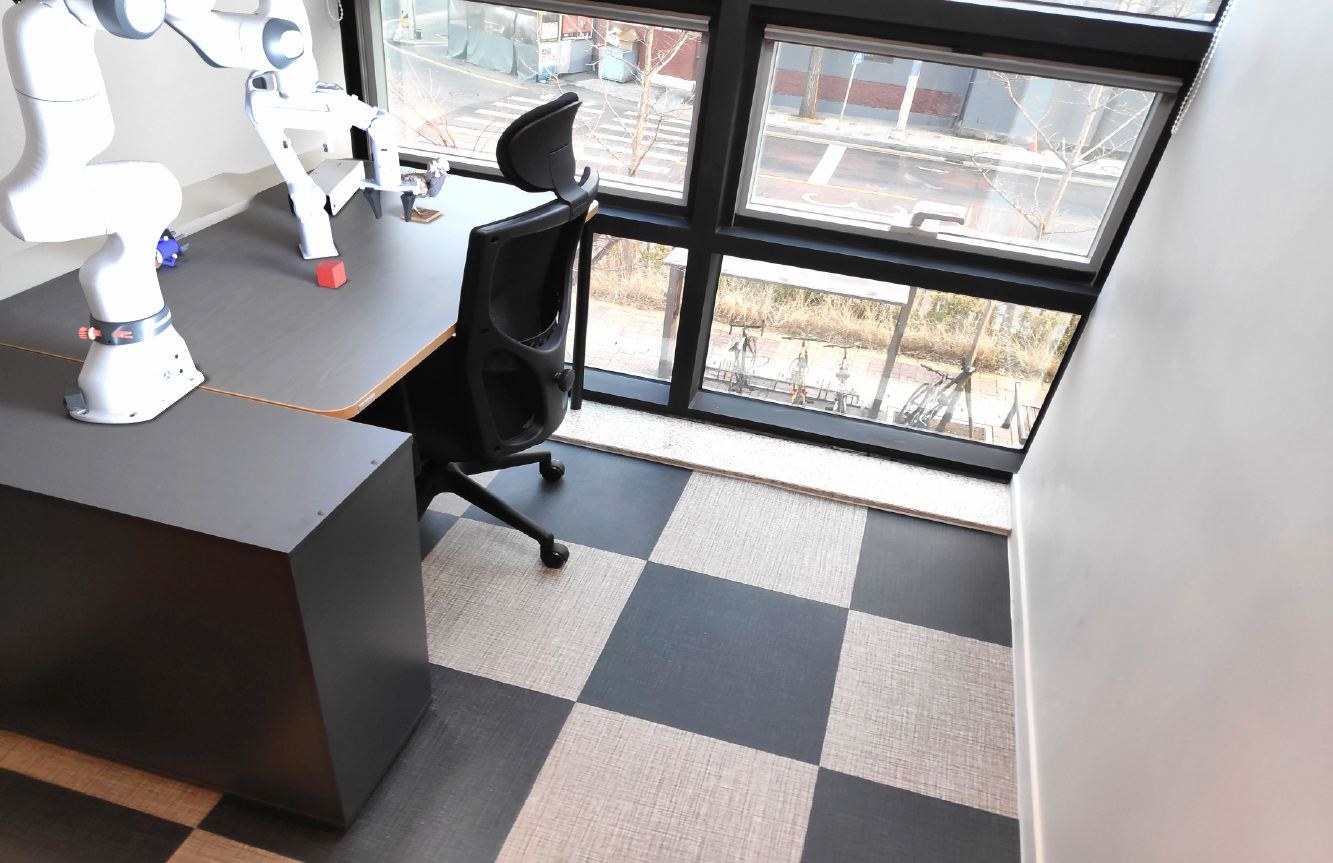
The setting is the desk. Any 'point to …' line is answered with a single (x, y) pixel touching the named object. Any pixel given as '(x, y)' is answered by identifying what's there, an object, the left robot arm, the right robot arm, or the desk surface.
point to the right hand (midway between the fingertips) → (393, 219)
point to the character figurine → (168, 248)
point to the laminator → (336, 182)
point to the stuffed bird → (428, 187)
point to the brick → (330, 273)
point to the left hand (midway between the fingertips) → (308, 149)
